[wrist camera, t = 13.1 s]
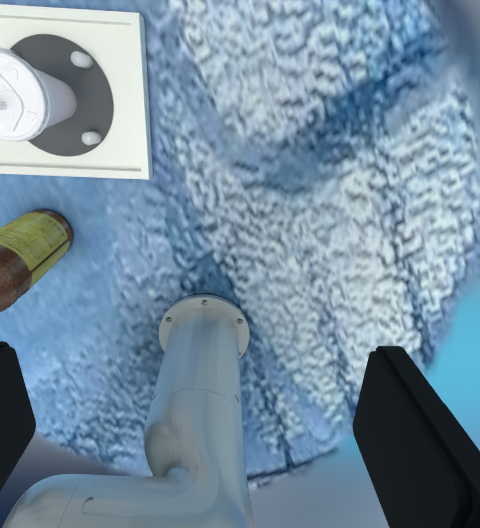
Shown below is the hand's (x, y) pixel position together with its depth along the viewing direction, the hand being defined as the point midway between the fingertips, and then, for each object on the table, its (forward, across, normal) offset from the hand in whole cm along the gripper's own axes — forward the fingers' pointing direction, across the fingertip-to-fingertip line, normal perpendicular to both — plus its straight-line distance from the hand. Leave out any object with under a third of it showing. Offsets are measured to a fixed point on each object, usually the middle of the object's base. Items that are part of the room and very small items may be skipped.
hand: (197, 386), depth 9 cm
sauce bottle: (+34, +21, +8) cm, 40 cm away
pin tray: (+33, +17, -7) cm, 38 cm away
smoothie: (+32, +17, -7) cm, 37 cm away
